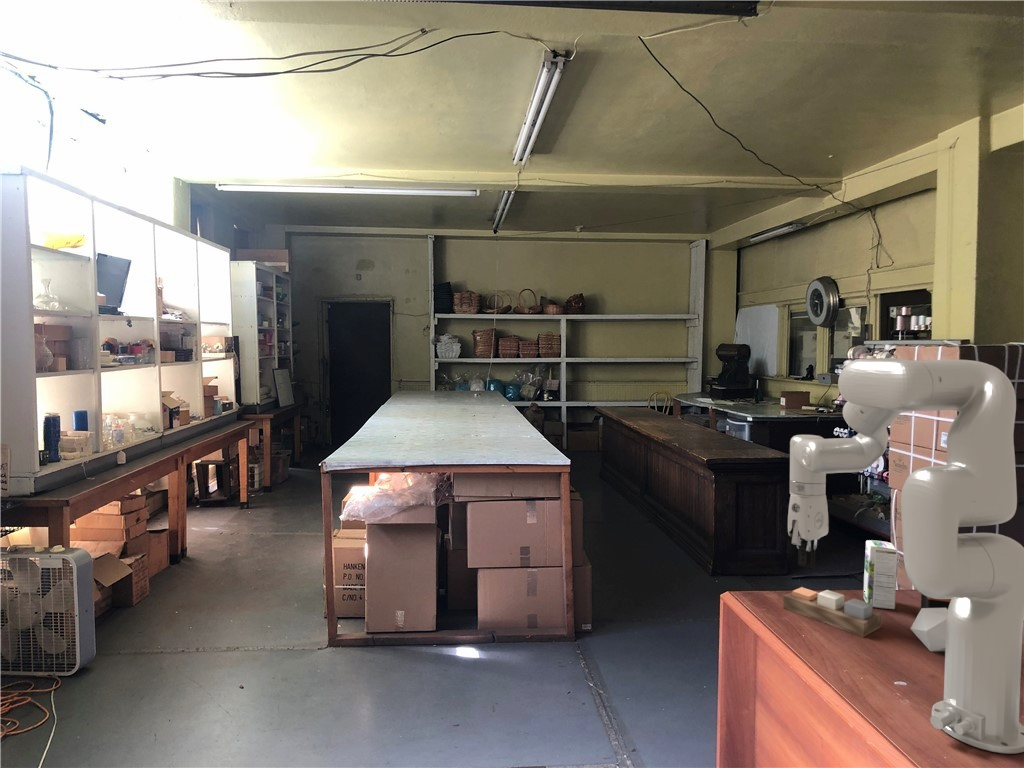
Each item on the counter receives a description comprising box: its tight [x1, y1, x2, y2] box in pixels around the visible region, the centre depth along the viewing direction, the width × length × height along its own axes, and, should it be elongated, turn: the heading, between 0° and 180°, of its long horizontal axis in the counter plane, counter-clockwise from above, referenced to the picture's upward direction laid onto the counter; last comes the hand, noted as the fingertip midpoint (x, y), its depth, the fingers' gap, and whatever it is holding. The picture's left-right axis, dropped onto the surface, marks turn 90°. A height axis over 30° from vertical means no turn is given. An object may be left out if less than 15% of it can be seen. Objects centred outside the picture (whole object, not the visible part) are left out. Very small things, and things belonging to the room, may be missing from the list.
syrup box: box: [863, 539, 898, 610], centre depth 145 cm, size 6×6×14 cm
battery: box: [920, 593, 951, 609], centre depth 136 cm, size 4×7×10 cm, turn 158°
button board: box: [782, 592, 882, 638], centre depth 138 cm, size 18×8×3 cm, turn 35°
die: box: [910, 607, 948, 652], centre depth 123 cm, size 8×9×10 cm
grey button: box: [844, 597, 874, 620], centre depth 133 cm, size 4×4×3 cm
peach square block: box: [792, 586, 819, 601], centre depth 143 cm, size 4×4×3 cm
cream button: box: [817, 589, 845, 610], centre depth 138 cm, size 4×4×3 cm
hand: (806, 566), depth 142 cm, fingers closed
